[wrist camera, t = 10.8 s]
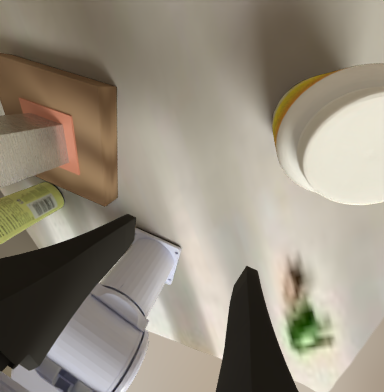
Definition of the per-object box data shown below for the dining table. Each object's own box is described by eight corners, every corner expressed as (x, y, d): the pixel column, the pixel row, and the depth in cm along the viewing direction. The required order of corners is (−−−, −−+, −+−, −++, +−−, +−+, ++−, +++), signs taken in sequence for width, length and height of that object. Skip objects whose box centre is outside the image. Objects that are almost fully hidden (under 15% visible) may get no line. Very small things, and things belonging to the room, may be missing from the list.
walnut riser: (117, 197, 26) (104, 207, 24) (41, 165, 29) (22, 171, 26) (116, 86, 19) (96, 86, 16) (11, 54, 21) (-19, 50, 19)
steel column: (69, 162, 22) (0, 187, 16) (40, 150, 23) (-35, 171, 17) (62, 124, 20) (-21, 138, 14) (30, 112, 20) (-61, 121, 15)
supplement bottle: (262, 143, 17) (257, 198, 8) (288, 69, 14) (324, 37, 5) (329, 159, 15) (403, 242, 7) (374, 82, 12) (595, 69, 4)
